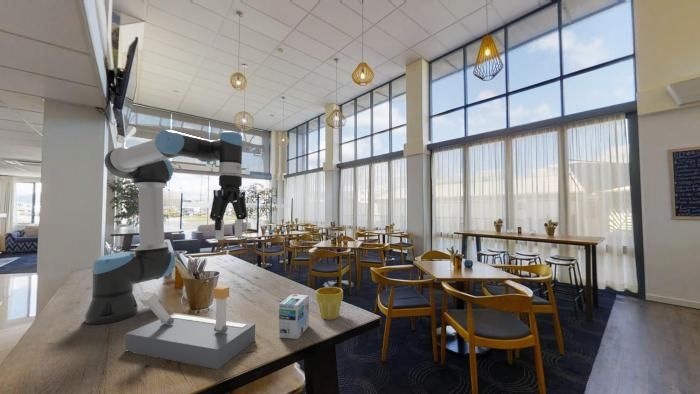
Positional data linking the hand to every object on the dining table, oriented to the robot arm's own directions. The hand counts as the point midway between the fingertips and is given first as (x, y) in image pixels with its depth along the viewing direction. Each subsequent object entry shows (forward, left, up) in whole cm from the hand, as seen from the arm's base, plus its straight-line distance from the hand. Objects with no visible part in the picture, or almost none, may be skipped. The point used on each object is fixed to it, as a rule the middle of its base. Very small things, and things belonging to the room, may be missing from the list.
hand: (229, 238), depth 98 cm
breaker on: (-10, -15, -24) cm, 30 cm away
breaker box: (0, -15, -30) cm, 34 cm away
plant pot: (+32, +17, -31) cm, 47 cm away
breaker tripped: (+10, -15, -24) cm, 30 cm away
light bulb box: (+25, +2, -31) cm, 40 cm away
